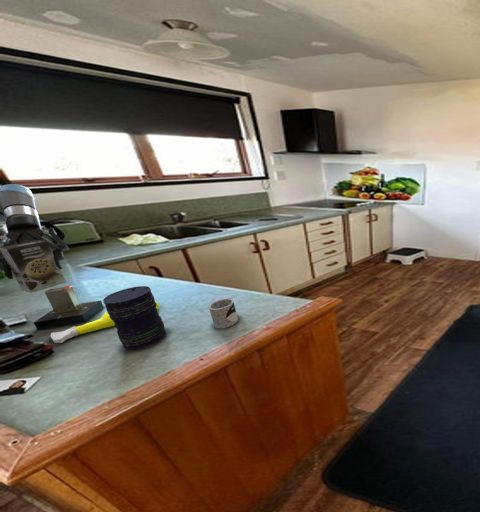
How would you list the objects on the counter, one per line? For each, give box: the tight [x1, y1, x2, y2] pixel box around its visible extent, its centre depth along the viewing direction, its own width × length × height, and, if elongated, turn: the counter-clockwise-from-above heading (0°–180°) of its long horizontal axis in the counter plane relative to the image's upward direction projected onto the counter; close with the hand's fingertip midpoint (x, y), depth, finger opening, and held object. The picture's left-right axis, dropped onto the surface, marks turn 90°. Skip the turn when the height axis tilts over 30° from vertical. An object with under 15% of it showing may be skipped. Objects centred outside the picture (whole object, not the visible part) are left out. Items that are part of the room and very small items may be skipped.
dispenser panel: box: [32, 300, 105, 331], centre depth 91 cm, size 12×10×3 cm
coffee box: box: [0, 240, 67, 294], centre depth 95 cm, size 9×6×16 cm
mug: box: [208, 297, 239, 329], centre depth 86 cm, size 10×7×7 cm, turn 9°
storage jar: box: [102, 285, 168, 352], centre depth 76 cm, size 10×10×15 cm
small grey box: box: [44, 285, 82, 314], centre depth 89 cm, size 6×2×8 cm, turn 109°
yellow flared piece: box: [50, 300, 160, 344], centre depth 88 cm, size 3×11×24 cm
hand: (35, 271), depth 93 cm, fingers closed on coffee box, 10 cm apart
